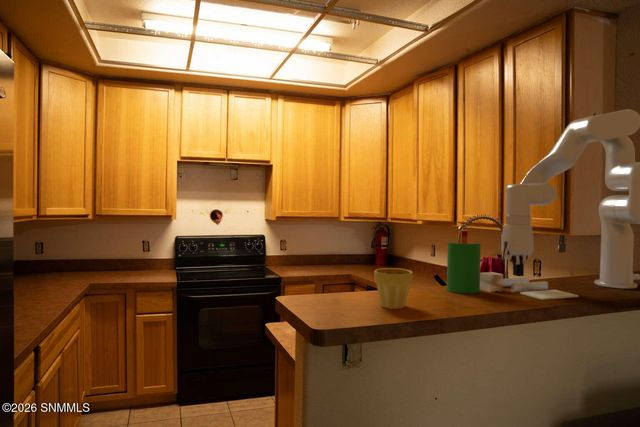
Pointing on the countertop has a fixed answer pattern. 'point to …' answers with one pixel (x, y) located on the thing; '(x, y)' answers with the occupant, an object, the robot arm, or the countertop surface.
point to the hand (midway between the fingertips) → (518, 275)
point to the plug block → (491, 281)
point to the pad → (548, 294)
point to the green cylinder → (463, 266)
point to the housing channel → (524, 284)
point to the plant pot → (393, 286)
